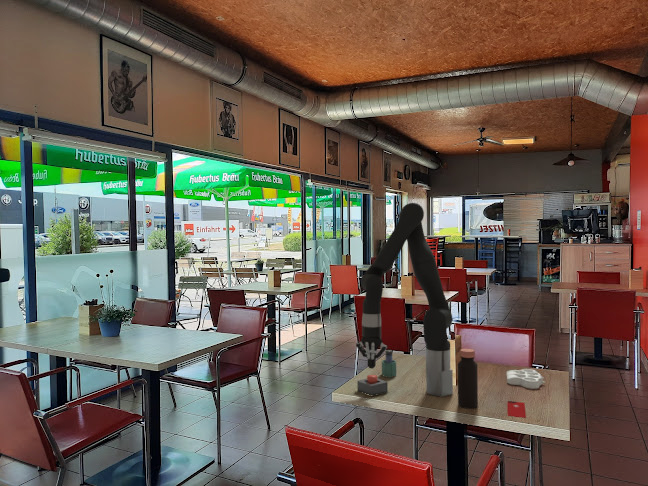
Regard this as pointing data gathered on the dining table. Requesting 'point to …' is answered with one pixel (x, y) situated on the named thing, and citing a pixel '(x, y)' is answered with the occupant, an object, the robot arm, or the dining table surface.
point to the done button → (371, 379)
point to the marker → (388, 356)
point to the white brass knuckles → (525, 378)
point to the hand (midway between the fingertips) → (371, 367)
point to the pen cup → (389, 368)
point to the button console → (372, 387)
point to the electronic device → (516, 409)
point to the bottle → (467, 380)
